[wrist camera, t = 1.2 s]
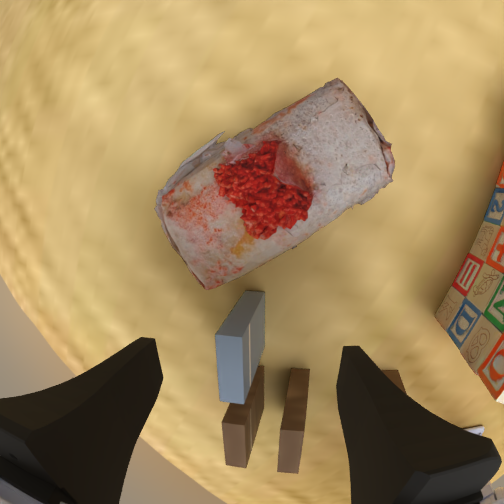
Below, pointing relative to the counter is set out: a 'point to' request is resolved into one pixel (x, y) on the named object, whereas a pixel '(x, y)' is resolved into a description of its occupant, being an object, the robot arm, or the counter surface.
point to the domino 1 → (243, 423)
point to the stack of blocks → (481, 300)
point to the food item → (273, 184)
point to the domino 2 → (293, 422)
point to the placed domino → (240, 347)
